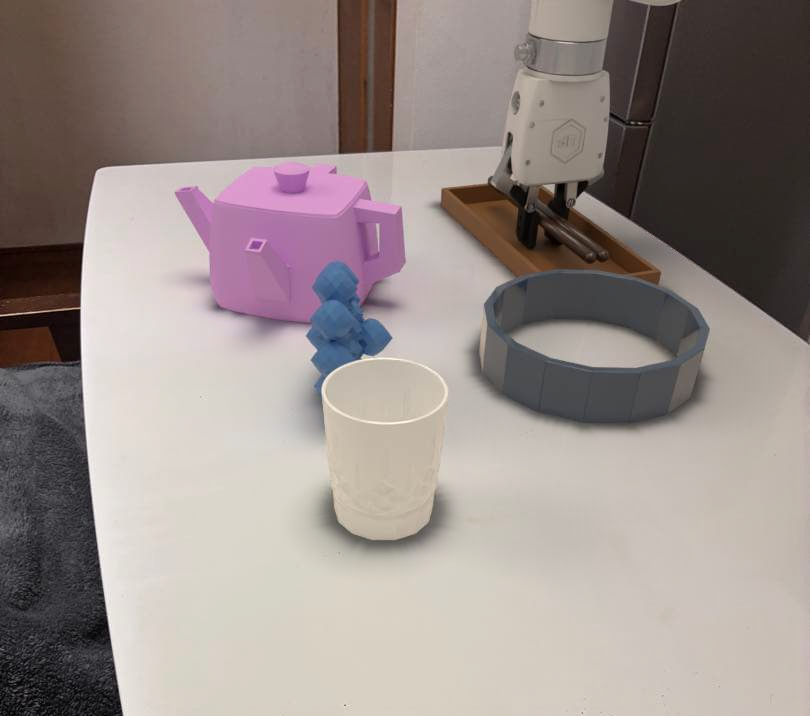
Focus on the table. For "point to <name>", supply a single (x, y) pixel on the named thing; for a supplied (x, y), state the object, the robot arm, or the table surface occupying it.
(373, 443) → the white cup
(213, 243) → the teakettle
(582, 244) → the chopsticks
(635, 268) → the tray
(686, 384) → the ring
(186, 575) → the table surface
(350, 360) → the grapes
